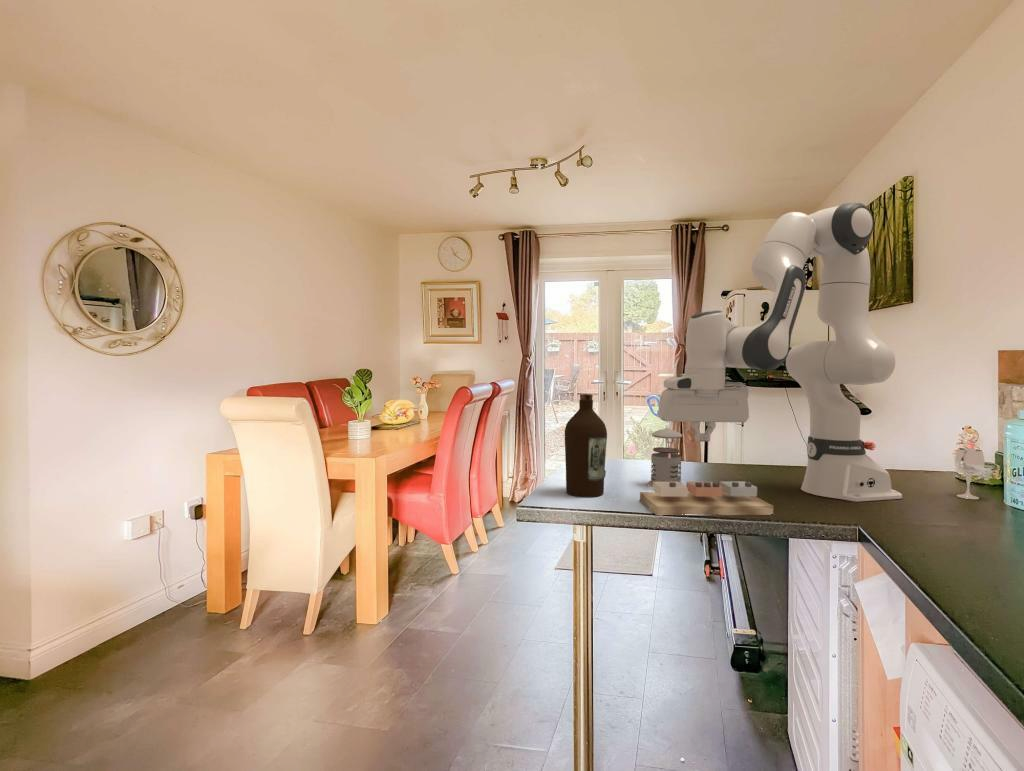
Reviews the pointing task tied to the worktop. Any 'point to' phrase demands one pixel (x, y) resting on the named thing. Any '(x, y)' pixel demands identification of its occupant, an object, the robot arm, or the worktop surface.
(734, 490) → the tile two
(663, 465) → the french press
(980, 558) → the worktop surface
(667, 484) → the tile one
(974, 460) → the wineglass
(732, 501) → the button board
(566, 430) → the olive oil
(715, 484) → the tile three
